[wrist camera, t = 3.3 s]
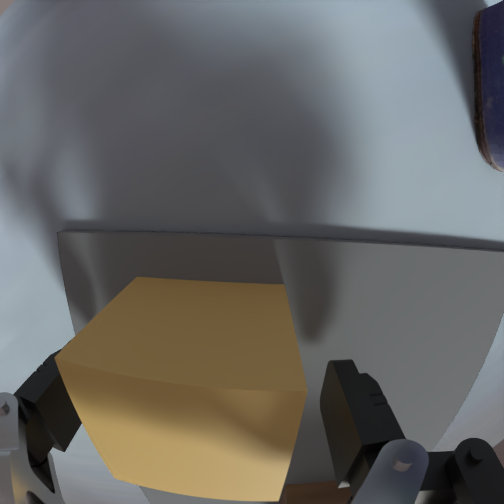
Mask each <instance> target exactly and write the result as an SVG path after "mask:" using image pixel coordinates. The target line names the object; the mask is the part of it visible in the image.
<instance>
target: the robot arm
mask: <svg viewBox="0 0 504 504" xmlns="http://www.w3.org/2000/svg"><path fill="white" fill-rule="evenodd" d="M70 341H71V340H70ZM70 341H69V342H70ZM69 342H68V343H69ZM68 343H67V344H68ZM67 344H66V345H67ZM66 345H65V346H66ZM65 346H64V347H65ZM64 347H63V348H64ZM61 350H62V349H60V350H58V351H57V352H55V353H53V354H51V355H50V356H49V357H48V358H47V359H46V360H45V361H44V362H43V365H40V366H39V367H38V368H37V371H35V372H34V373H33V374H32V375H31V376H30V377H29V378H28V379H27V380H26V381H25V382H24V383H23V384H22V385H21V387H20V388H19V389H18V390H17V391H16V392H15V393H14V394H13V395H12V394H10V393H6V392H2V393H0V504H65V502H64V500H63V498H62V495H61V491H60V488H59V484H58V480H57V476H56V471H55V467H54V462H53V457H52V455H51V453H50V450H51V449H52V447H54V448H56V449H58V450H60V451H63V452H65V451H66V449H67V447H68V446H69V444H70V442H71V440H72V439H73V437H74V435H75V434H76V432H77V430H78V429H79V427H80V425H81V424H82V422H81V420H80V418H79V416H78V413H77V411H76V409H75V407H74V405H73V403H72V401H71V398H70V396H69V394H68V392H67V389H66V387H65V384H64V382H63V379H62V377H61V374H60V372H59V369H58V367H57V364H56V361H55V358H54V357H55V356H56V355H57V354H58V353H59V352H60V351H61ZM320 411H321V416H322V420H323V424H324V428H325V432H326V437H327V441H328V445H329V450H330V454H331V459H332V463H333V468H334V472H335V477H336V481H337V486H338V488H343V487H349V486H350V490H351V494H352V495H351V496H350V498H349V499H348V501H347V502H346V504H504V468H503V466H502V465H501V463H500V461H499V459H498V457H497V456H496V454H495V452H494V450H493V449H492V447H491V446H490V445H489V444H488V443H487V442H486V441H484V440H482V439H479V438H469V439H466V440H464V441H462V442H461V443H460V444H459V445H458V446H457V448H456V449H455V450H454V451H446V452H427V451H426V450H425V448H424V447H423V446H422V445H420V444H419V443H417V442H415V441H412V440H408V439H406V437H405V436H404V433H403V431H402V429H401V427H400V425H399V423H398V421H397V419H396V417H395V415H394V413H393V411H392V409H391V407H390V405H389V404H388V401H387V399H386V397H385V395H383V391H382V390H381V388H380V386H379V384H378V382H377V381H376V380H375V379H374V378H372V377H371V376H370V375H369V374H368V373H359V372H358V369H357V367H356V365H355V363H354V361H353V360H352V359H346V360H330V361H329V362H328V364H327V368H326V373H325V377H324V382H323V386H322V390H321V395H320Z"/></svg>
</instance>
